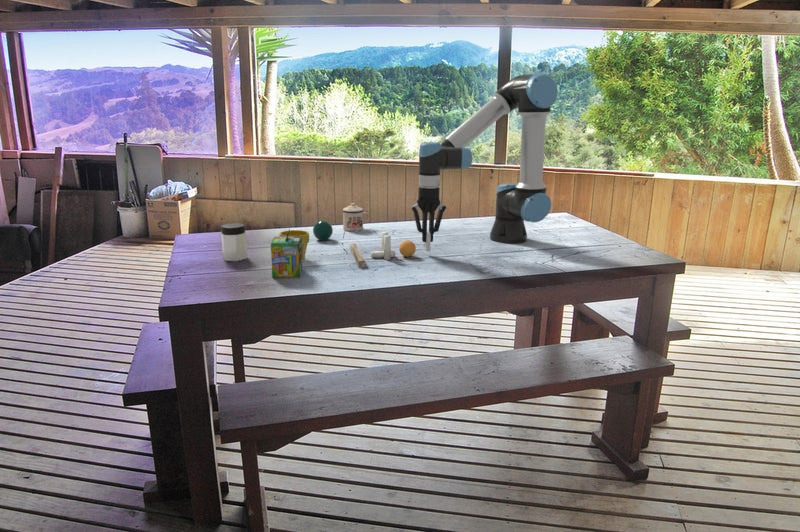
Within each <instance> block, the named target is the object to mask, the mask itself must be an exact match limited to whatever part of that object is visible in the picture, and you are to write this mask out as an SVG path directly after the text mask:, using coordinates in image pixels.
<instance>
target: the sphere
mask: <svg viewBox="0 0 800 532" xmlns="http://www.w3.org/2000/svg"><path fill="white" fill-rule="evenodd" d="M312 232H313V236H314V237H315V238H316V239H317V240H318V241H327V240H329V239H330V238H331V237H332V235H333V225H332V224H331V223H330V222H328V221H326V220H319V221H317V222H316V223H315V224H314V226H313V228H312Z"/></svg>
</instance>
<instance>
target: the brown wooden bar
mask: <svg viewBox="0 0 800 532" xmlns="http://www.w3.org/2000/svg"><path fill="white" fill-rule="evenodd" d="M349 246H350V252H351V255H352V256H353V258H354V260H355V262H356V264H357V266H358V268H361V267H365V268H366V260H365V258H364V256H363V255H362V252H361V251H360V249H359V247H358V244H357V243H350V245H349ZM361 269H362V268H361Z"/></svg>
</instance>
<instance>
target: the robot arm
mask: <svg viewBox="0 0 800 532" xmlns="http://www.w3.org/2000/svg"><path fill="white" fill-rule="evenodd" d="M558 94H559V90H558V85H557V83H556V81H555V80H554V79H553V78H552V76H550V75H548V74H545V73H544V74H543V73H534V74H522V75H521V74H519V75H516V76H515V77H513V78H511V79H510V80H509V81H507V82H506V83H504V84H503V85H502V86H500V87H499V89H497V90H496V91H495V92H494V93H493V94H492V95H491V99H489V100H488V101H487V102H486V103H485V104H484V105H483V106H481V107H480V108H479V109H478V110H477V111H475V112H474V113H473V114H472V115H471V116H470V117H468V118H467V119H466V120H465V121H464V122H463V123H462V124H461V125H459V126H458V127H456V128H455V130H453V131H452V132H451V133H450V134H449V135H447V136H446V137H445V138H443V139H442V140H441V141H440V142H435V141H434V142H431V141H430V142H421V143H420V145H419V153H418V154H419V155H418V160H419V161H418V162H419V163H418V165H419V166H418V167H419V168H418V186H419V187H418V196H417V197H418V198H417V201H416V203H415V204H413V205H410V209H411V211H412V212H413V217H414V221H415V224H416V225H415V226H416V230H417V232H419V233H421V238H422V239H421V241H422V242H423V243H424V251H425V252H431V243H432V242H433V241H434V234H435V233H437V232H439V230H440V225H441V224H442V223H441V222H442V218H443V215H444V212H445V210H446V209H447V206H446V205H444V204H442V203H441V200H440V182H441V170H464V169H469V168H470V167H471V166H472V163H473V152H472V150H471V149H470V148H468V147H467V146H468V145H470V144H471V143H472V142H473V141H474V140H475V139H477V138H478V137H479V136H480V135H482V133H484V132H485V131H487V129H488V128H490V127H491V126H492V125H493V124H494V123H495V122H497V121H498V120H499V119H500V118H502V116H504V115H509V114H510V113H511V112H513V111H515V110H516V109H518V111H517V112H518V115H520V116H521V139H520V158H519V159H520V164H519V181H518V183H505V184H499V185H498V186H497V189H496V193H495V194H496V200H495V201H496V202H495V217H494V218H495V220H494V222H493V225H492V227H491V230H490V232H489V233H490V234H489V239H490V240H491V241H494V242H499V243H505V244H517V243H524V242H526V241H527V239H528V233H527V230H526V229H527V228H526V225H525V222H529V223H539V222H541V221H543V220H544V219H545V218H547V216H548V215H549V214H550V211H551V208H552V200H551V198H550V197H549V195H548V194H547V185H546V184H545V183H544V182H543V179H544V178H543V176H544V160H545V141H546V123H547V121H546V119H547V117H548V116H549V115H550V114H551V106H553V105H554V104H555V102H556V100H557V98H558ZM419 209H420V210H421V211H422V212H421V213H422V215H421V216H422V217H421V218H422V219H421V218H420V215H419ZM437 209H438V211H437V214H436V213H435V212H436V210H437ZM435 214H436V219H435ZM428 216H429V218H428ZM421 221H422V222H421Z"/></svg>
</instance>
